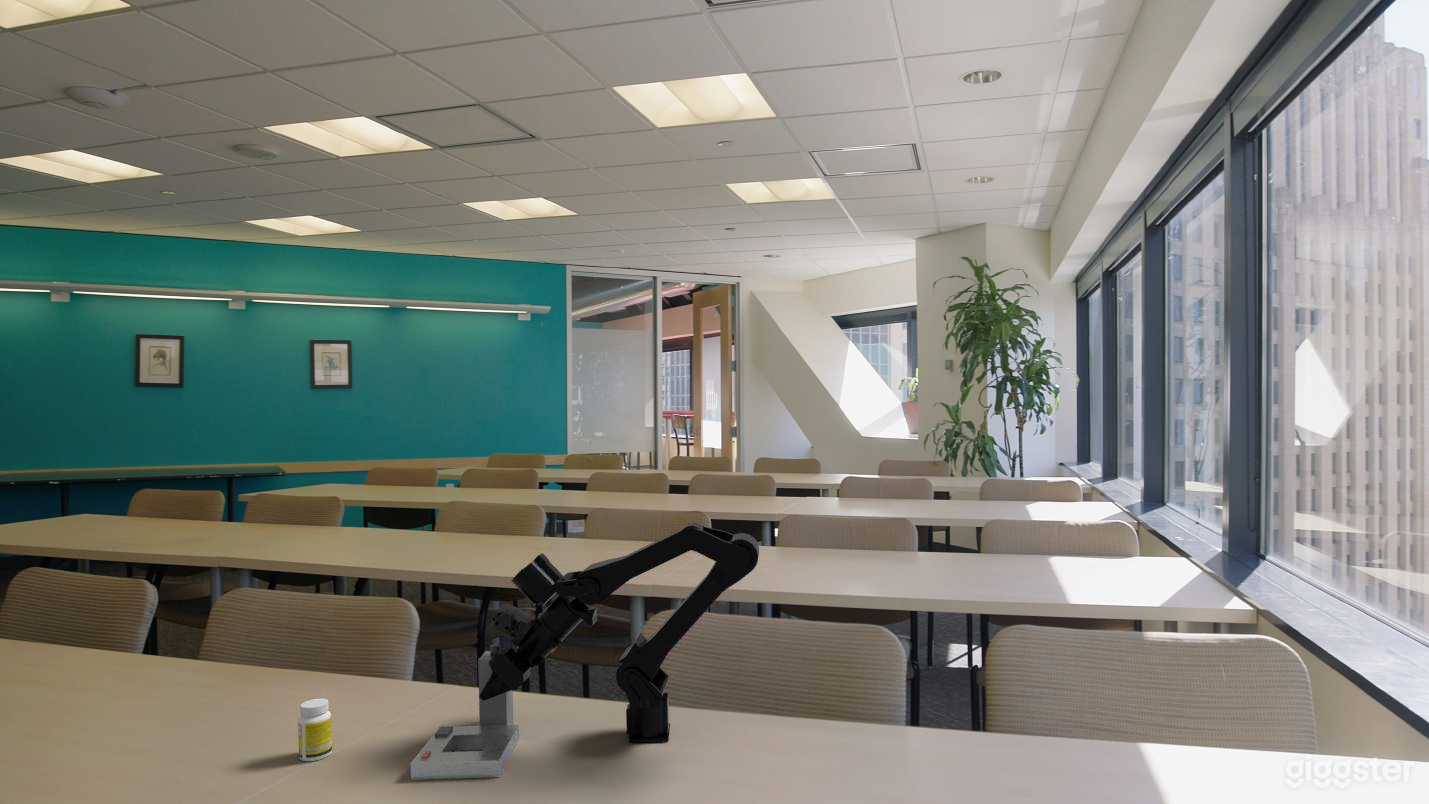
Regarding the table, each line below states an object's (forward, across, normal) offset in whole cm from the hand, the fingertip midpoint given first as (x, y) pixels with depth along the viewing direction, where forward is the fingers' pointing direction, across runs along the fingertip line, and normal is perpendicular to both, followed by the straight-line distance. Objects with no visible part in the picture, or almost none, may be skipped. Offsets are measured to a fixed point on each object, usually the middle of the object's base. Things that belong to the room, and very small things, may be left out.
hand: (492, 688), depth 134 cm
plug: (+5, 0, +6) cm, 7 cm away
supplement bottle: (+23, +10, -12) cm, 28 cm away
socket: (+5, +10, +5) cm, 13 cm away
